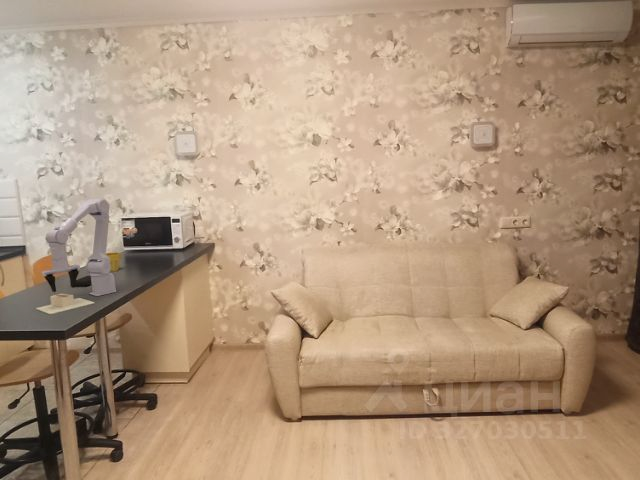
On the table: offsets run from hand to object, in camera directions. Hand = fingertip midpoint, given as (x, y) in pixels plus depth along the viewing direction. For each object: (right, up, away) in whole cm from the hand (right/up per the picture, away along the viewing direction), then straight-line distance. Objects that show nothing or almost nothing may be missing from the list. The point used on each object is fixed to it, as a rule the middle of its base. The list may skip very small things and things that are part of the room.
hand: (63, 289), depth 197 cm
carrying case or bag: (-11, -2, +41) cm, 43 cm away
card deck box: (-1, -7, +2) cm, 7 cm away
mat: (0, -7, +1) cm, 7 cm away
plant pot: (-11, +3, +70) cm, 71 cm away
